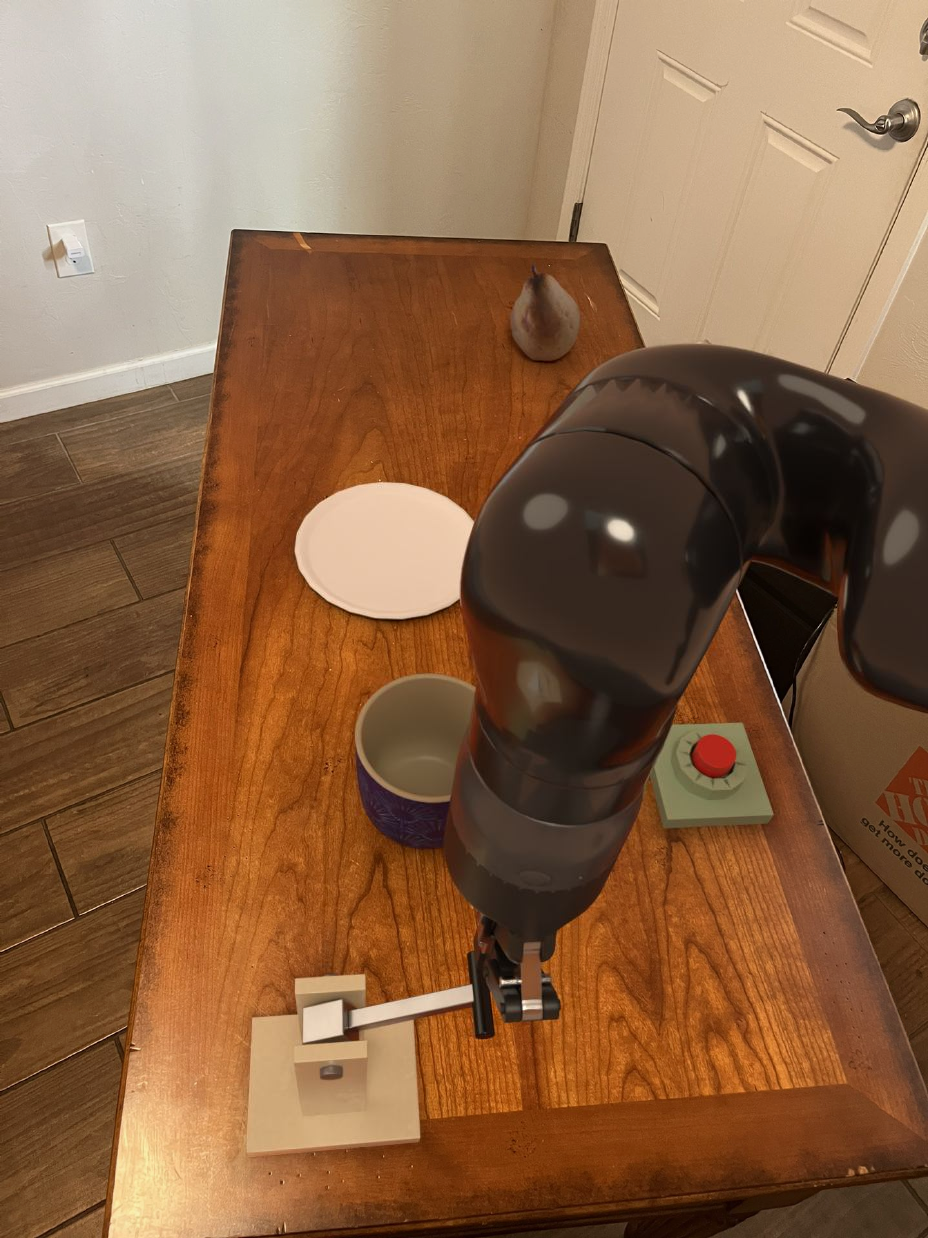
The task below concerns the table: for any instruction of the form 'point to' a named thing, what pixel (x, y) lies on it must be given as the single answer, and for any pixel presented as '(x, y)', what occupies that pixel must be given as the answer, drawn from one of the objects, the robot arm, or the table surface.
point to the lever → (400, 1011)
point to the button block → (708, 782)
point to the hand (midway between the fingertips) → (493, 955)
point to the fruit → (544, 318)
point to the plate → (385, 550)
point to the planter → (411, 755)
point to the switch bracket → (330, 1080)
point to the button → (714, 755)
